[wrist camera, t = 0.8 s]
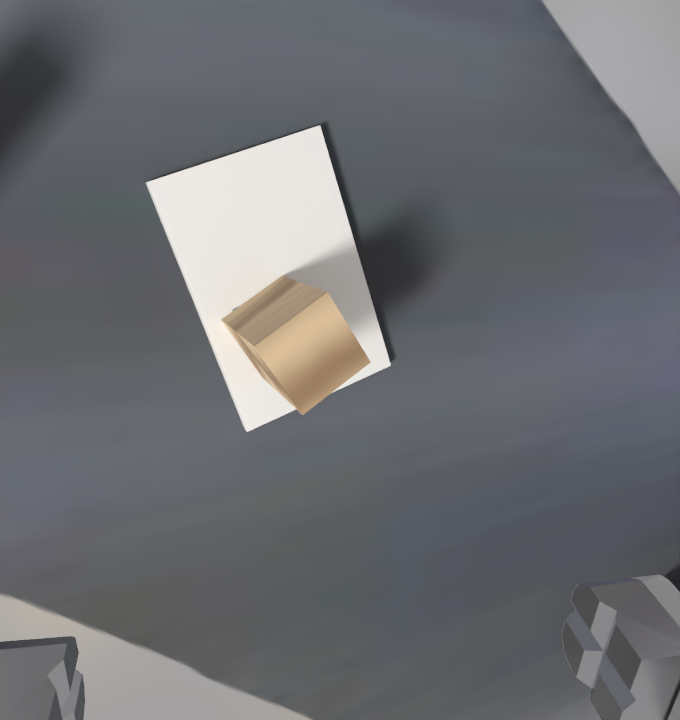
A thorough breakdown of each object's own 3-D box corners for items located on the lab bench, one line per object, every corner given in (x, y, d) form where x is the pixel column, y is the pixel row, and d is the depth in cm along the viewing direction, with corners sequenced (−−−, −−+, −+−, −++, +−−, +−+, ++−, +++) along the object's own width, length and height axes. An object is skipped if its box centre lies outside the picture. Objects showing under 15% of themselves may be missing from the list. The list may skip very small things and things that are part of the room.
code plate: (145, 182, 46) (146, 182, 45) (316, 126, 50) (320, 125, 49) (244, 428, 53) (247, 432, 52) (386, 363, 57) (391, 365, 56)
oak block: (220, 319, 49) (254, 346, 40) (282, 275, 51) (327, 292, 42) (262, 377, 52) (302, 415, 43) (320, 334, 53) (370, 362, 44)
